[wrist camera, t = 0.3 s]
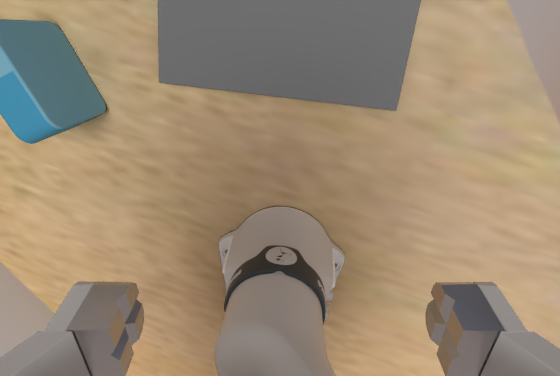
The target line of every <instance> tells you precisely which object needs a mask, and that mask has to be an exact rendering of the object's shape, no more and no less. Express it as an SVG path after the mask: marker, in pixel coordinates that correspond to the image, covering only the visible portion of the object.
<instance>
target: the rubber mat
mask: <svg viewBox="0 0 560 376" xmlns="http://www.w3.org/2000/svg"><path fill="white" fill-rule="evenodd" d="M420 2H421V0H158V47H159V83H167V84H176V85H184V86H192V87H201V88H209V89H218V90H226V91H235V92H243V93H252V94H260V95H269V96H277V97H285V98H294V99H302V100H311V101H319V102H328V103H336V104H345V105H353V106H361V107H370V108H378V109H387V110H395V111H396V110H397V105H398V101H399V96H400V92H401V87H402V83H403V78H404V74H405V69H406V65H407V60H408V56H409V51H410V47H411V42H412V38H413V33H414V29H415V24H416V20H417V15H418V11H419V6H420Z"/></svg>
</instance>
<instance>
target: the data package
mask: <svg viewBox="0 0 560 376" xmlns="http://www.w3.org/2000/svg"><path fill="white" fill-rule="evenodd" d="M105 110H106V105H105V102H104V100H103V98H102V96H101V95H100V93H99V91H98V90H97V88H96V86H95V85H94V83H93V81H92V80H91V78H90V76H89V75H88V73H87V71H86V70H85V68H84V66H83V65H82V63H81V61H80V60H79V58H78V56H77V55H76V53H75V51H74V50H73V48H72V47H71V45H70V43H69V42H68V40H67V38H66V37H65V35H64V33H63V32H62V31H61V29H60V28H59V27H58V26H56V25H55V24H54V23H52V22H48V21H27V20H5V19H0V114H1V115H2V117H3V118H4V120H5V121H6V122H7V124H8V125H9V127H10V128H11V130H12V131H13V132H14V134H15V135H16V136H17V137H18V138H19V139H20V140H22V141H24V142H26V143H30V144H32V143H36V142H39V141H41V140H44V139H46V138H49V137H51V136H54V135H56V134H59V133H61V132H63V131H66V130H68V129H71V128H73V127H76V126H78V125H80V124H82V123H84V122H87V121H89V120H91V119H93V118H95V117H97V116H99V115H101V114H103V113H104V112H105Z"/></svg>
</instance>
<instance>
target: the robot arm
mask: <svg viewBox="0 0 560 376" xmlns="http://www.w3.org/2000/svg"><path fill="white" fill-rule="evenodd" d="M227 249H228V251H226V250H227ZM219 250H220V256H221V262H222V268H223V270H222V273H223V274H224V280H225V286H226V296H225V297H226V299H225V304H224V309H225V315H224V318H223V322H222V325H221V328H220V332H219V335H218V339H217V342H216V346H215V354H214V355H215V365H216V369H217V372H218V375H219V376H336V374H335V372H334V371H333V369H332V367H331V365H330V362H329V359H328V356H327V351H326V345H325V339H324V331H323V324H324V321H326V320H327V317H328V313H329V306H328V305H326V302H327V301H329V302H331V301H332V299H333V292H331V291H332V288H334V287H335V282H336V279H337V277H338V275H339V273H340V270H341V268H342V266H343V264H344V261H345V255H344V252H343V251H342V250H341V249H340V248H339V247H337V246H336V245H335V244H333V243H332V242H331V241H330V239H329V237H328V235H327V234H326V232H325V230H324V228H323V227H322V226H321V225H320V223H319V222H318V221H317V220H315V219H314V218H313V217H312V216H310V215H309V214H307V213H305V212H303V211H300V210H298V209H294V208H289V207H271V208H266V209H263V210H260V211H258V212H256V213H254V214H253V215H251V216H250V217H248V218H247V219H246V220H245V221H244V222H243V223H242V224H241V225H240V227H239V228H237V229H236V230H235V231H232V232H230V233H228V234H226V235H224V236H222V237H221V238H220V241H219ZM335 263H336V265H335ZM138 294H139V291H138V288H137V285H136V283H130V282H77V283H76V284H75V285H73V287H72V288H71V290H70V291H69V293H68V295H67V296H66V298H65V299H64V301H63V302H62V304H61V306H60V307H59V309H58V310H57V312H56V313H55V315H54V317H53V318H52V320H51V321H50V323H49V324H48V326H47V328H46V329H45V331H38V332H37V333H35V334H34V335H32V336H31V337H29V338H28V339H27V340H25V341H24V342H22V343H21V344H19V345H18V346H16V347H15V348H13V349H12V350H10V351H9V352H7V353H6V354H4V355H3V356H1V357H0V376H126V373H127V370H128V368H129V365H130V362H131V360H132V357H133V354H134V353H133V350H132V345H133V344H134V343H135V342H136V341H137V340H138V339H139V338H140V335H141V332H142V329H143V322H144V310H143V306H142V304H141V303H140V302H139V301H138V300H136V298H137V296H138ZM431 294H432V296H433V298H434V300H432V301H431V302H430V303H429V304H428V305H427V309H426V326H427V330H428V333H429V336H430V339H431V340H432V341H434V342H435V343H436V344H437V345H438V346H439V348H438V351H437V356H438V359H439V361H440V363H441V366H442V368H443V371H444V373H445V376H560V349H559V348H558V347H556V346H555V345H553V344H552V343H550V342H549V341H547V340H546V339H544V338H543V337H541V336H540V335H538V334H537V333H535V332H528V331H527V329H526V328H525V326H524V325H523V323H522V322H521V321H520V319H519V318H518V316H517V315H516V313H515V312H514V310H513V309H512V307H511V306H510V304H509V303H508V301H507V300H506V298H505V297H504V295H503V294H502V292H501V291H500V289H499V288H498V287H497V285H496V284H494V283H493V282H473V283H472V282H440V283H435V284H434V286H433V288H432V291H431Z"/></svg>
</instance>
